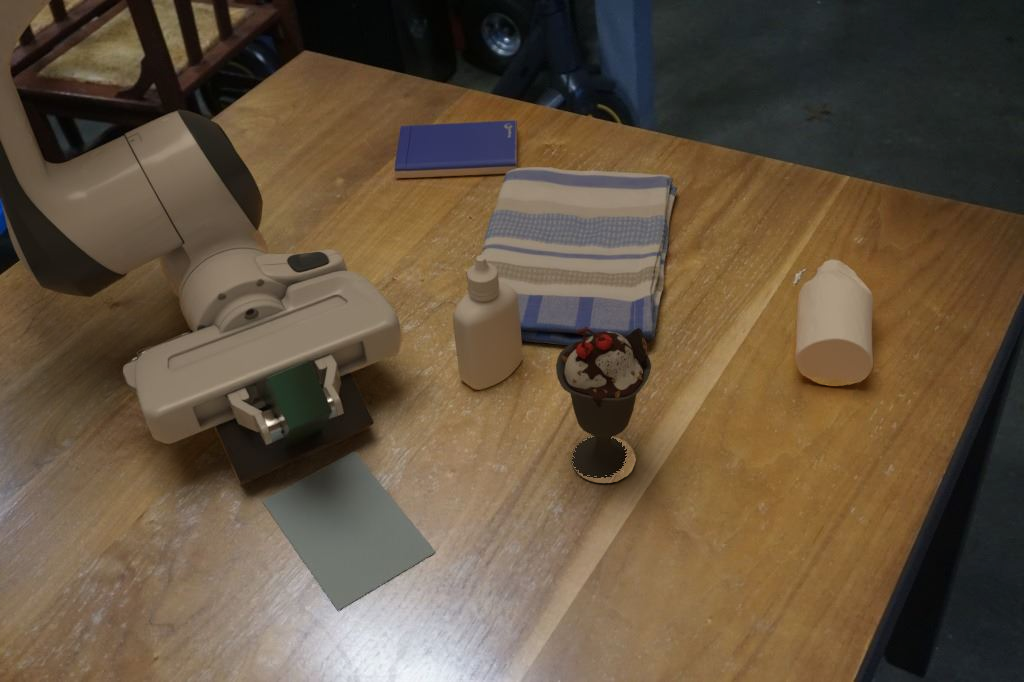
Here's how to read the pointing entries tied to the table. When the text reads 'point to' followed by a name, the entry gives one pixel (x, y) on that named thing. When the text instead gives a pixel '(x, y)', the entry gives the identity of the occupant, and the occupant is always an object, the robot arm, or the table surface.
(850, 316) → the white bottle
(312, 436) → the green post on base
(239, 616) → the table surface
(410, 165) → the blue hardcover book
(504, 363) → the eye dropper bottle
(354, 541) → the gray rectangular card
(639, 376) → the sundae
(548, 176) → the dish towel
